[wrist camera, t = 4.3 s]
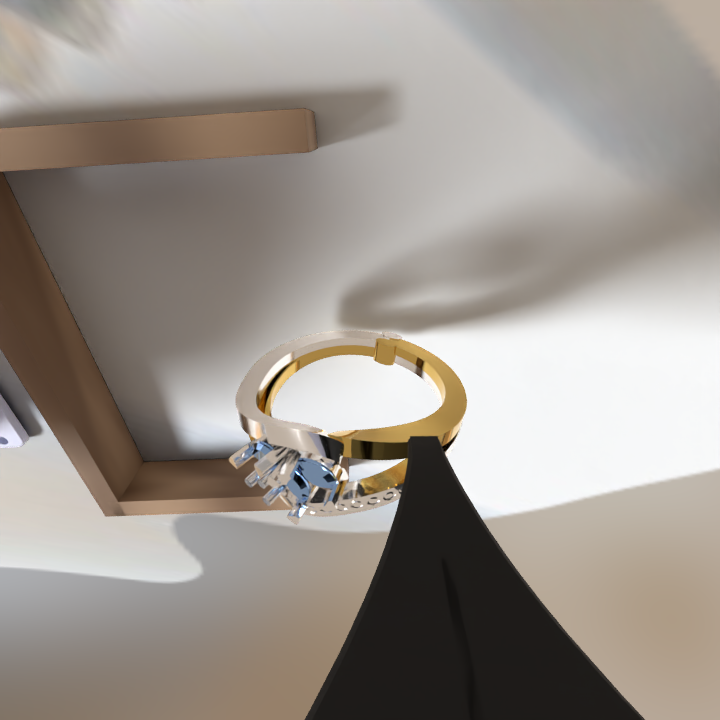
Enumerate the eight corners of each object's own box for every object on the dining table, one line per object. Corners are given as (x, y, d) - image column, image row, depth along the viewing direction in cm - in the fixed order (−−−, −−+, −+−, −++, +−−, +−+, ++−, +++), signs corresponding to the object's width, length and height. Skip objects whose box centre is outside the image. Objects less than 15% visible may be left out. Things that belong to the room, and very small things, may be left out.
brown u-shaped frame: (132, 475, 20) (105, 516, 18) (-47, 135, 12) (-133, 136, 10) (349, 467, 20) (347, 507, 18) (313, 111, 12) (304, 107, 10)
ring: (315, 350, 17) (179, 482, 11) (316, 284, 15) (155, 397, 9) (468, 400, 15) (408, 594, 9) (491, 330, 13) (435, 515, 7)
